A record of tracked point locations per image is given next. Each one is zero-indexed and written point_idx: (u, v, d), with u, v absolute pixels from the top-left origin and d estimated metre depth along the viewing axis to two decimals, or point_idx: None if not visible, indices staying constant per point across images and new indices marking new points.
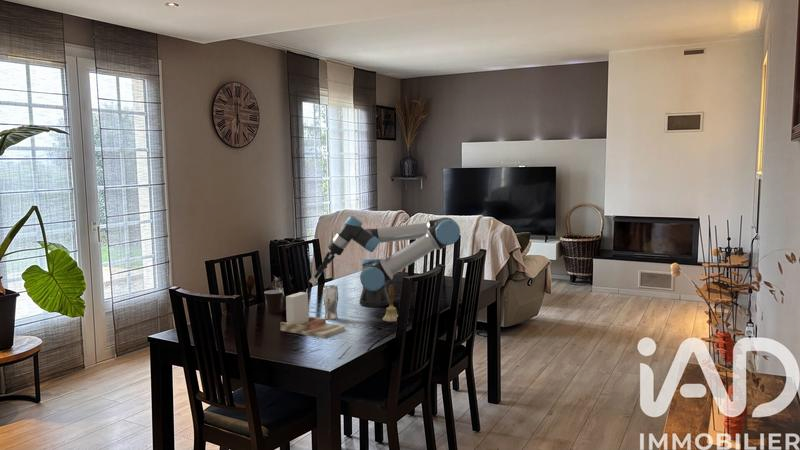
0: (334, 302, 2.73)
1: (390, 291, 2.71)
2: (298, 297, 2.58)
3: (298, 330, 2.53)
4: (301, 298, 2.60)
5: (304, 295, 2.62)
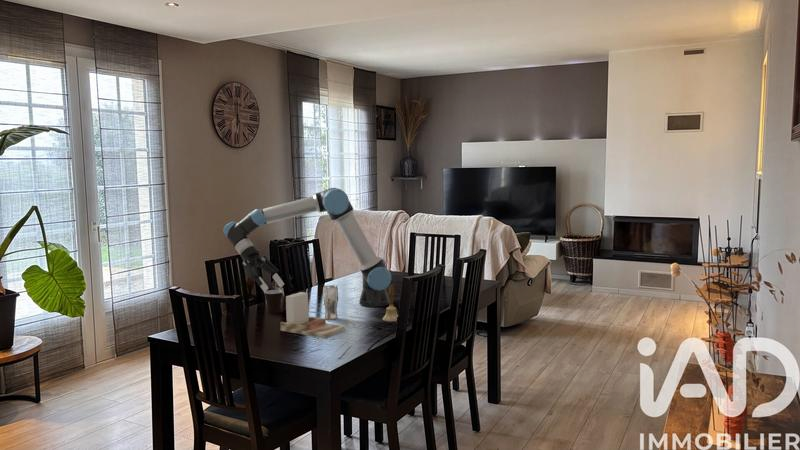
0: (334, 302, 2.73)
1: (390, 291, 2.71)
2: (298, 297, 2.58)
3: (298, 330, 2.53)
4: (301, 298, 2.60)
5: (304, 295, 2.62)
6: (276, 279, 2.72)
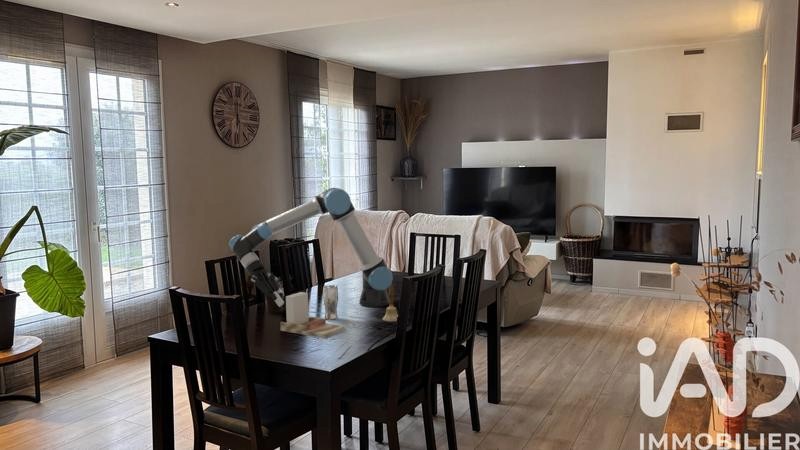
0: (334, 302, 2.73)
1: (390, 291, 2.71)
2: (298, 297, 2.58)
3: (298, 330, 2.53)
4: (301, 298, 2.60)
5: (304, 295, 2.62)
6: None
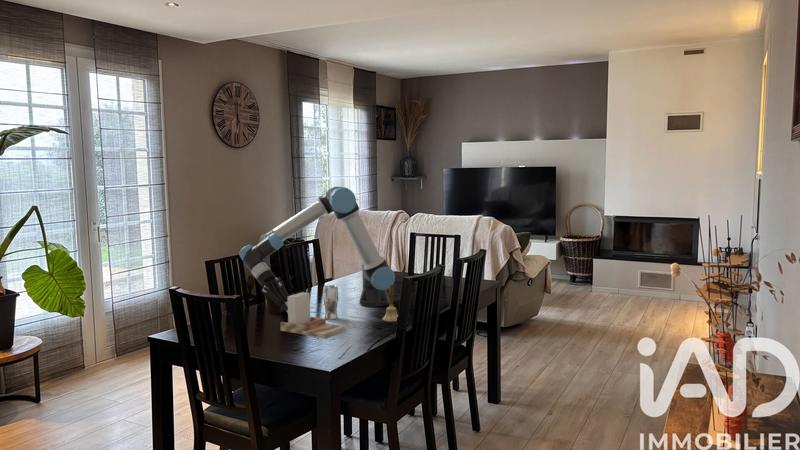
0: (334, 302, 2.73)
1: (390, 291, 2.71)
2: (300, 297, 2.58)
3: (298, 330, 2.53)
4: (303, 298, 2.59)
5: (306, 295, 2.61)
6: (287, 308, 2.63)
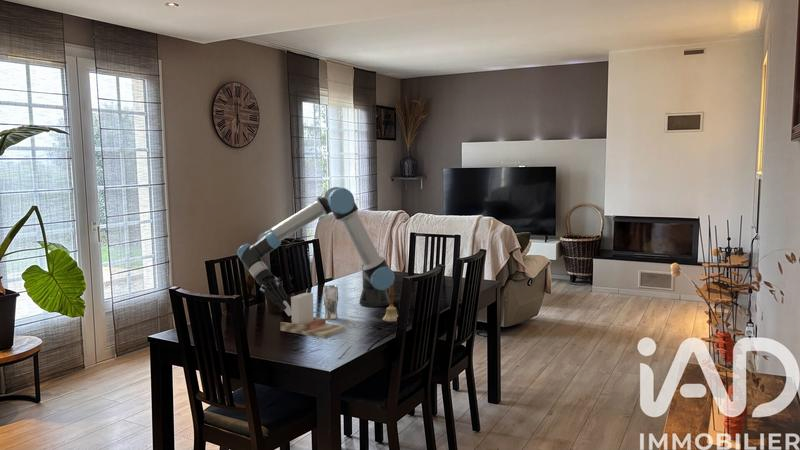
0: (334, 302, 2.73)
1: (390, 291, 2.71)
2: (303, 298, 2.57)
3: (298, 330, 2.53)
4: (306, 299, 2.58)
5: (309, 296, 2.60)
6: None
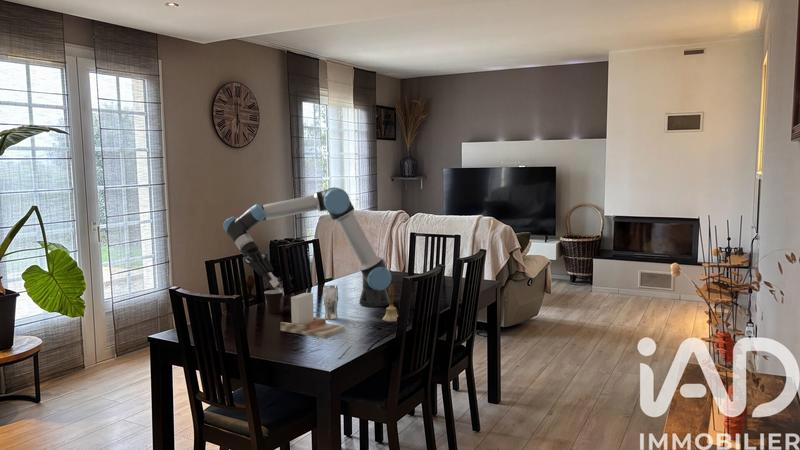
0: (334, 302, 2.73)
1: (390, 291, 2.71)
2: (303, 298, 2.57)
3: (298, 330, 2.53)
4: (306, 299, 2.58)
5: (309, 296, 2.60)
6: None
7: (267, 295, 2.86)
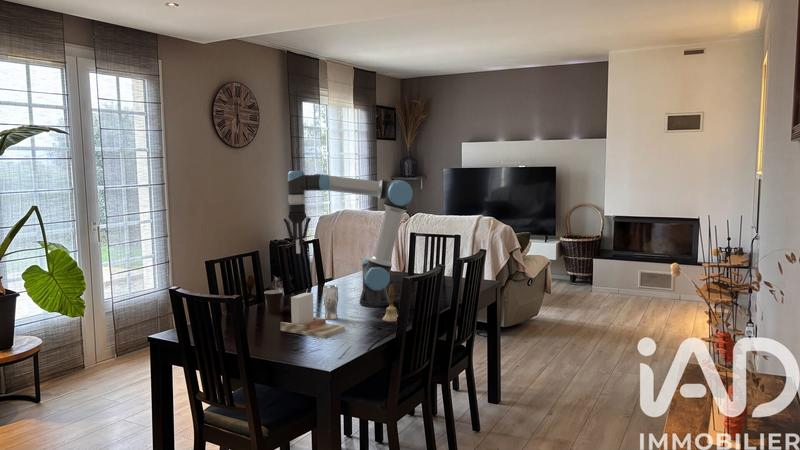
0: (334, 302, 2.73)
1: (390, 291, 2.71)
2: (303, 298, 2.57)
3: (298, 330, 2.53)
4: (306, 299, 2.58)
5: (309, 296, 2.60)
6: None
7: (267, 295, 2.86)
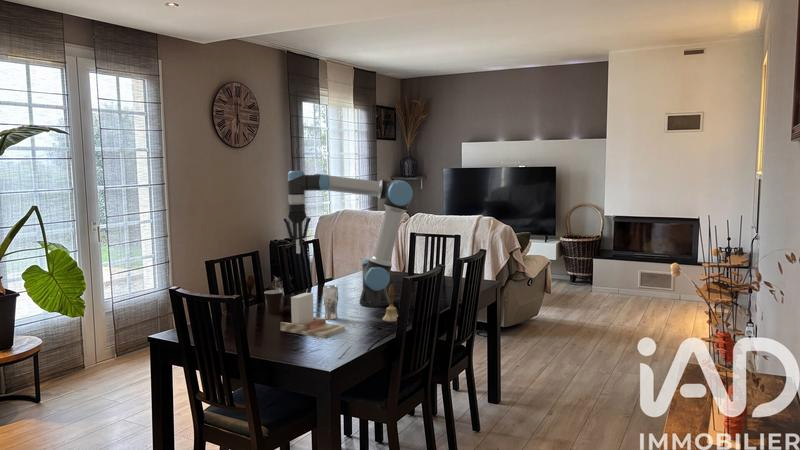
0: (334, 302, 2.73)
1: (390, 291, 2.71)
2: (303, 298, 2.57)
3: (298, 330, 2.53)
4: (306, 299, 2.58)
5: (309, 296, 2.60)
6: None
7: (267, 295, 2.86)
